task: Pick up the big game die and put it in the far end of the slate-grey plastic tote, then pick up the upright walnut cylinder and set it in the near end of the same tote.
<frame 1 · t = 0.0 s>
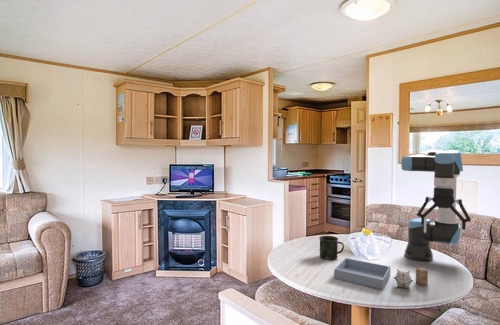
hand: (442, 234, 138), 28 cm above the table, fingers open, 13 cm apart
walnut cylinder: (421, 284, 151), on the table
game die: (403, 287, 148), on the table
mug: (331, 258, 188), on the table
tote: (362, 277, 159), on the table
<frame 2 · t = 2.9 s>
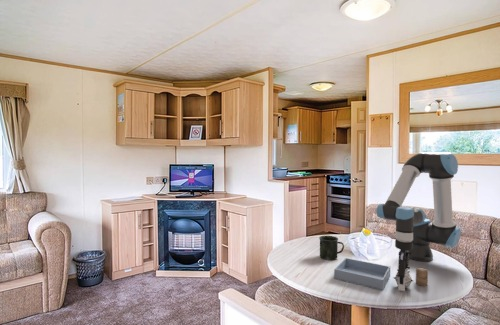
hand: (403, 285, 148), 1 cm above the table, fingers closed on game die, 10 cm apart
game die: (403, 287, 148), on the table, touching gripper
everything else where it was.
when the fingers open (3 cm above the table, at t = 8.6 s): game die drops 2 cm, resting on tote.
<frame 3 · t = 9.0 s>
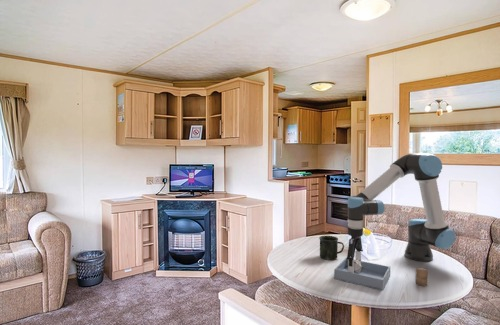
hand: (354, 267, 161), 4 cm above the table, fingers open, 13 cm apart
game die: (355, 274, 162), resting on tote
everything else where it was.
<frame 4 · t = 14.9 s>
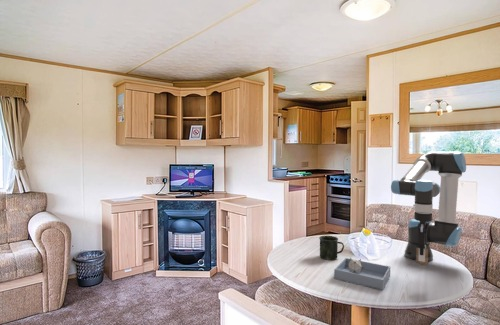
hand: (422, 259, 151), 12 cm above the table, fingers closed on walnut cylinder, 5 cm apart
walnut cylinder: (422, 262, 151), point 11 cm above the table, touching gripper
everything else where it was.
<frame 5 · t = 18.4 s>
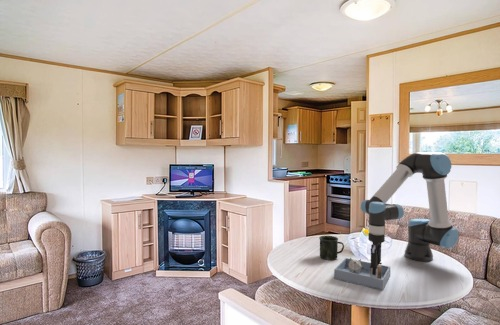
hand: (375, 278, 155), 1 cm above the table, fingers closed on walnut cylinder, 5 cm apart
walnut cylinder: (375, 279, 155), point 1 cm above the table, touching gripper
everything else where it was.
when the fingers open (1 cm above the table, at t = 18.6 s): walnut cylinder stays where it is, resting on tote.
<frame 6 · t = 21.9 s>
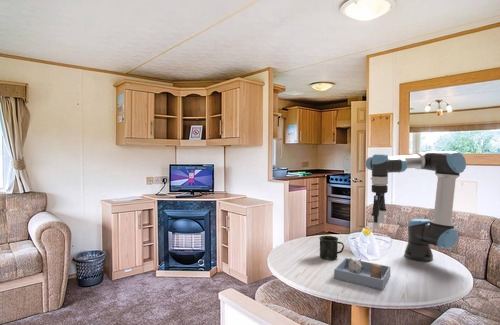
hand: (378, 225, 158), 27 cm above the table, fingers open, 13 cm apart
walnut cylinder: (375, 279, 155), point 1 cm above the table, touching tote
everything else where it was.
at the end: game die inside the target area on the tote (3.9 cm from its centre), point 0.4 cm above the tote's base; walnut cylinder inside the target area on the tote (6.4 cm from its centre), point 0.6 cm above the tote's base; the gripper is holding nothing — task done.
